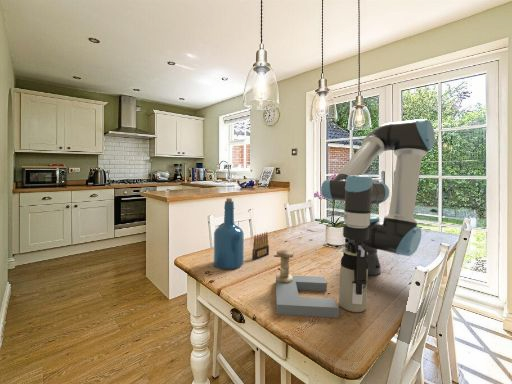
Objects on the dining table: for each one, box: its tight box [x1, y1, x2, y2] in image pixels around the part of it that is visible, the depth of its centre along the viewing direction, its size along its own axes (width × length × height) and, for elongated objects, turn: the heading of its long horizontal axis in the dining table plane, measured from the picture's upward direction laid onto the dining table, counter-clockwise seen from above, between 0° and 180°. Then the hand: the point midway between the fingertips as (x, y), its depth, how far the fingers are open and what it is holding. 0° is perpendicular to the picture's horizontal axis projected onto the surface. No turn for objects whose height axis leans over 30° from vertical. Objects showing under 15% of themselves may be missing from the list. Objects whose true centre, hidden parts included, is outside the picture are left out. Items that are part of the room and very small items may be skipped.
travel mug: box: [338, 247, 369, 313], centre depth 81 cm, size 8×8×18 cm
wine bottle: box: [213, 197, 245, 270], centre depth 114 cm, size 14×13×30 cm
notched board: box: [275, 274, 340, 319], centre depth 86 cm, size 18×22×3 cm
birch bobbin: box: [275, 249, 294, 283], centre depth 93 cm, size 6×6×10 cm
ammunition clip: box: [251, 231, 270, 261], centre depth 126 cm, size 11×2×12 cm, turn 139°
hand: (352, 296), depth 81 cm, fingers closed on travel mug, 8 cm apart
